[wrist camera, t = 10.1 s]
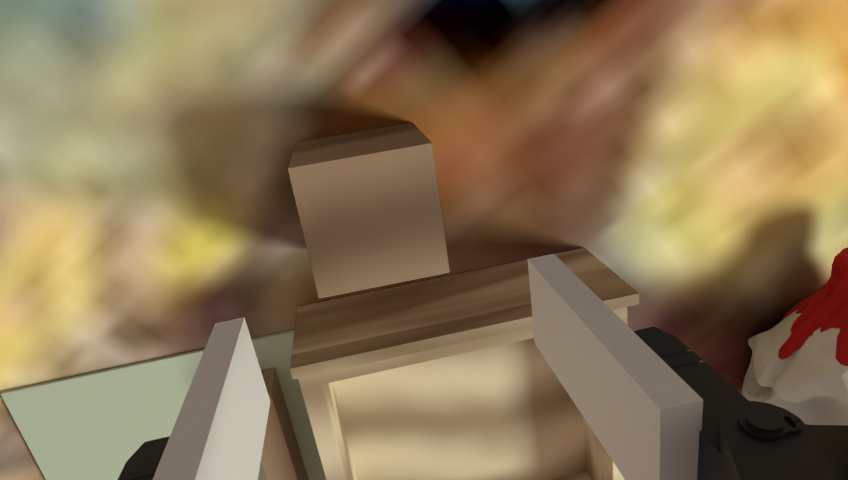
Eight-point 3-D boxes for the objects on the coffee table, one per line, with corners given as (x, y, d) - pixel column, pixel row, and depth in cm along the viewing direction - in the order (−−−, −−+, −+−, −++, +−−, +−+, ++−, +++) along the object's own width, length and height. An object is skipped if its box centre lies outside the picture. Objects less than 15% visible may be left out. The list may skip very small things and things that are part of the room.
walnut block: (295, 142, 28) (287, 168, 22) (412, 122, 28) (431, 142, 23) (320, 250, 30) (318, 298, 24) (427, 229, 31) (449, 272, 25)
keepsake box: (297, 306, 31) (289, 368, 25) (584, 247, 32) (639, 293, 27) (358, 537, 37) (363, 628, 32) (594, 478, 39) (639, 555, 33)
